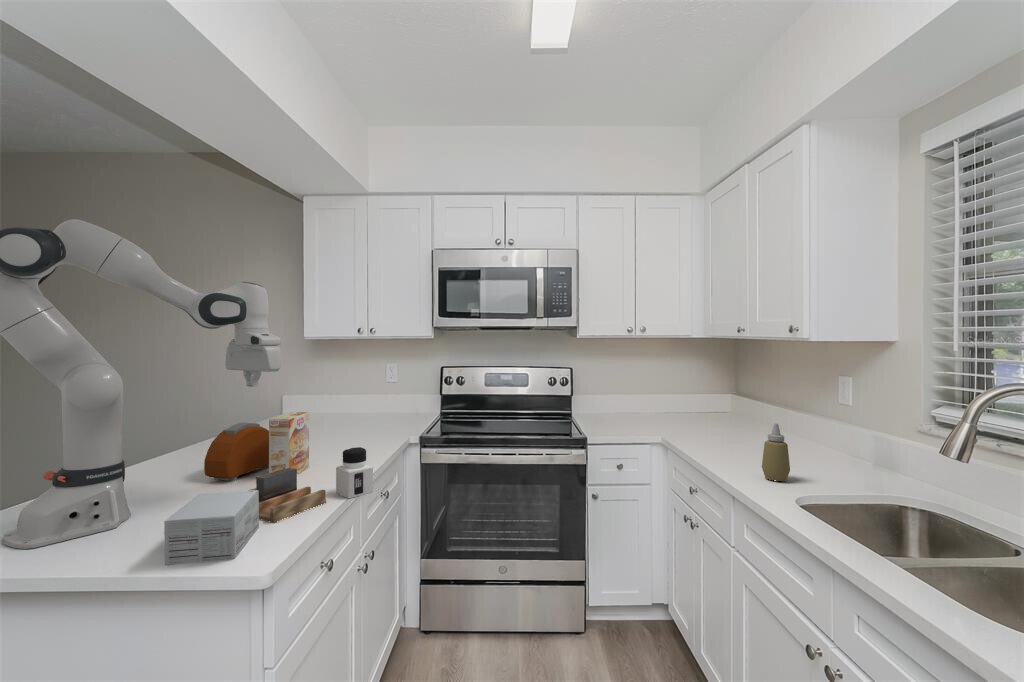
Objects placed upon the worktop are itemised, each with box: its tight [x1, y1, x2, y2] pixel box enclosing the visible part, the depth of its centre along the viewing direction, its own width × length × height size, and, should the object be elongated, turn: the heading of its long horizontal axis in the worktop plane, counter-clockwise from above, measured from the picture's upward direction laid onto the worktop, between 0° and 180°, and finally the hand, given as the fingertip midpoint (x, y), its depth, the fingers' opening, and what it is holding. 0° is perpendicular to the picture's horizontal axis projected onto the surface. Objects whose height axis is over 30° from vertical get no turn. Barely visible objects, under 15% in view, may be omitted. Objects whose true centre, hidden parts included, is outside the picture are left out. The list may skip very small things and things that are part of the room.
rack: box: [246, 486, 327, 524], centre depth 130 cm, size 16×19×4 cm
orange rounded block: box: [203, 422, 269, 482], centre depth 162 cm, size 23×9×17 cm, turn 169°
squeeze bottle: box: [761, 423, 791, 482], centre depth 156 cm, size 8×8×18 cm
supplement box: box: [163, 489, 260, 566], centre depth 106 cm, size 17×13×9 cm
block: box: [255, 468, 298, 502], centre depth 130 cm, size 10×3×8 cm, turn 153°
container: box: [335, 446, 374, 499], centre depth 141 cm, size 8×8×13 cm
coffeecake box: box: [268, 411, 310, 475], centre depth 161 cm, size 15×7×20 cm, turn 179°
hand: (252, 386), depth 141 cm, fingers closed
